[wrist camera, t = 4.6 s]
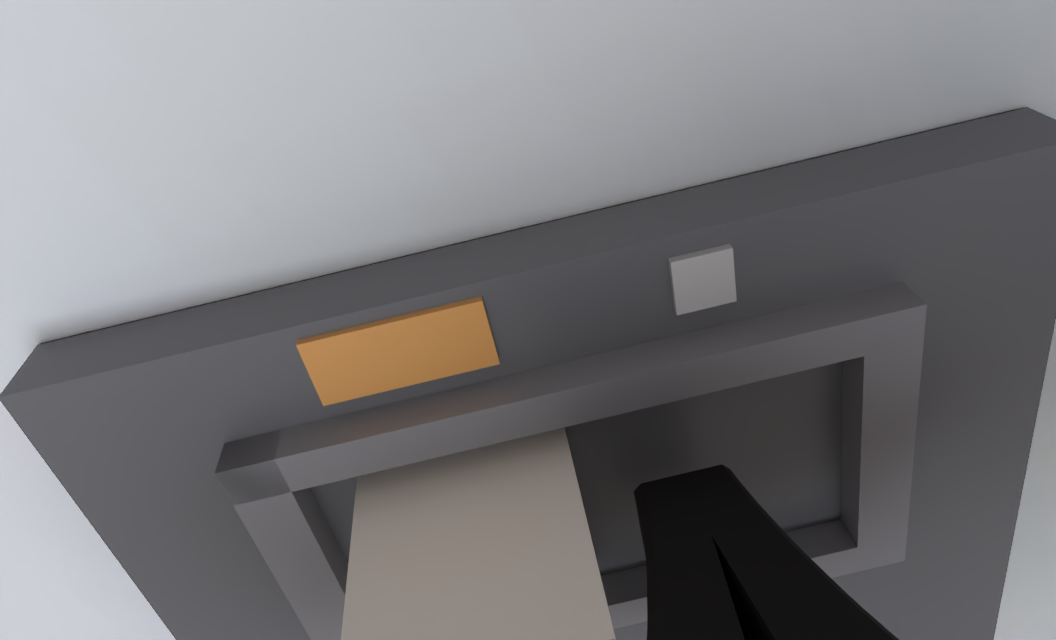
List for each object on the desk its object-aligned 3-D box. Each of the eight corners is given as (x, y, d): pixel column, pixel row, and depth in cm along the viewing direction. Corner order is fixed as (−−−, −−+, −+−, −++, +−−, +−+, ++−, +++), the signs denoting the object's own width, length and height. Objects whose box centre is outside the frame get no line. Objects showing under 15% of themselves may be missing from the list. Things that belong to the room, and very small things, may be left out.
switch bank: (1027, 106, 11) (1127, 151, 9) (936, 735, 19) (980, 812, 18) (37, 345, 11) (-26, 428, 9) (384, 862, 19) (380, 950, 18)
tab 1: (563, 424, 11) (625, 682, 8) (596, 563, 13) (660, 826, 9) (357, 472, 11) (329, 751, 8) (416, 605, 13) (414, 883, 9)
